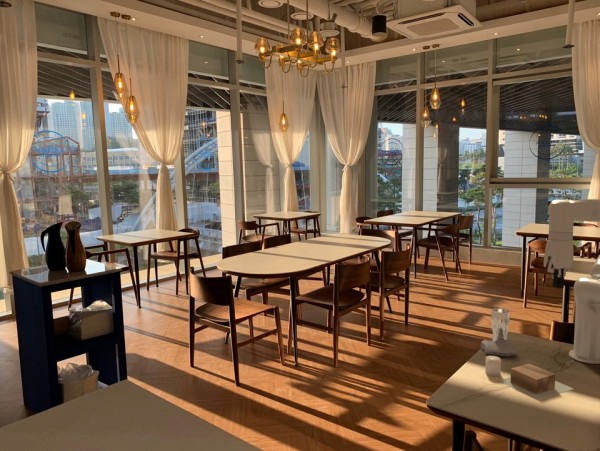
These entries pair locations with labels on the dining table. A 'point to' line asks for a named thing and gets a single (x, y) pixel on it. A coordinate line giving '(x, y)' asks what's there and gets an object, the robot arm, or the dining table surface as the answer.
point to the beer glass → (500, 323)
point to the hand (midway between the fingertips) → (558, 287)
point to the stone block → (498, 347)
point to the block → (533, 378)
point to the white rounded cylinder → (493, 366)
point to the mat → (558, 389)
